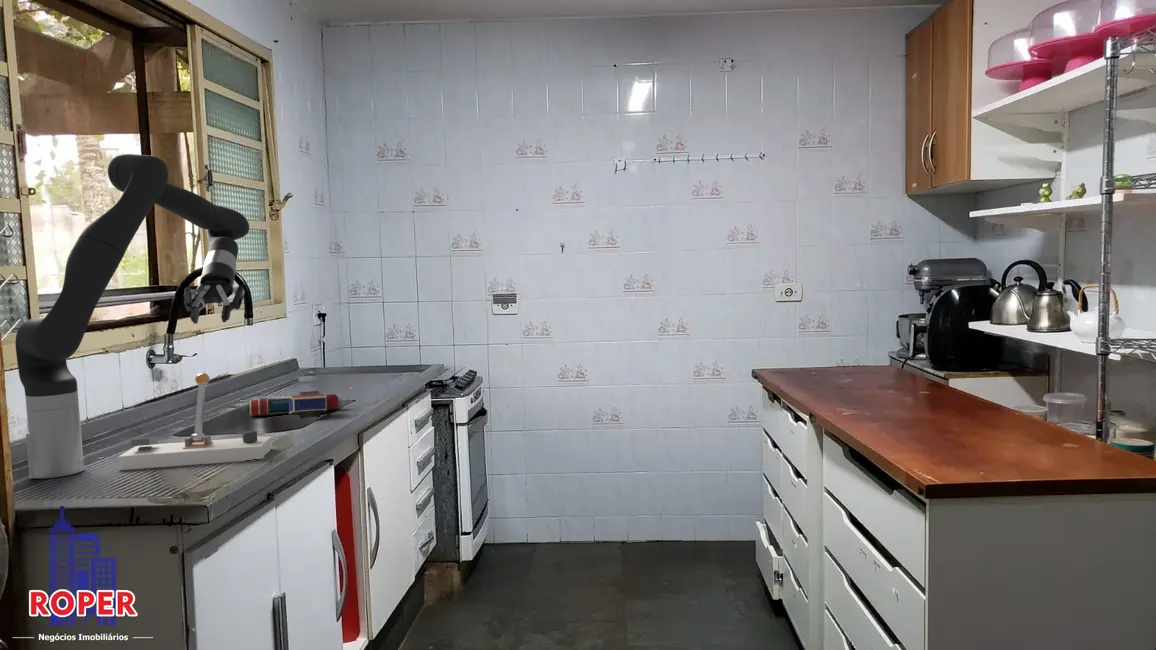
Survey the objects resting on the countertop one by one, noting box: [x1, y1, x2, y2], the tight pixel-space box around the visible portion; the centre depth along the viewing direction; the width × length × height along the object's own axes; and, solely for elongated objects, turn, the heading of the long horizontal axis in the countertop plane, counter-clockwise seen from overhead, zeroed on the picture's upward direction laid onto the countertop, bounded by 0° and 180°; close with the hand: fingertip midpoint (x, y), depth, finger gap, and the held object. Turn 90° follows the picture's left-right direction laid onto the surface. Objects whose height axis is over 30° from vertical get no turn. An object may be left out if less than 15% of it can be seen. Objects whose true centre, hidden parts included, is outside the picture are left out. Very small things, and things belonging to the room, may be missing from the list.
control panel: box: [117, 434, 273, 471], centre depth 174 cm, size 11×29×5 cm, turn 101°
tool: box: [246, 390, 340, 419], centre depth 225 cm, size 8×25×20 cm
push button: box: [242, 430, 258, 442], centre depth 176 cm, size 3×3×2 cm
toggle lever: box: [190, 372, 210, 443], centre depth 177 cm, size 3×3×16 cm
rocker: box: [130, 437, 158, 447], centre depth 172 cm, size 5×4×1 cm
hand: (209, 320), depth 187 cm, fingers open, 6 cm apart
